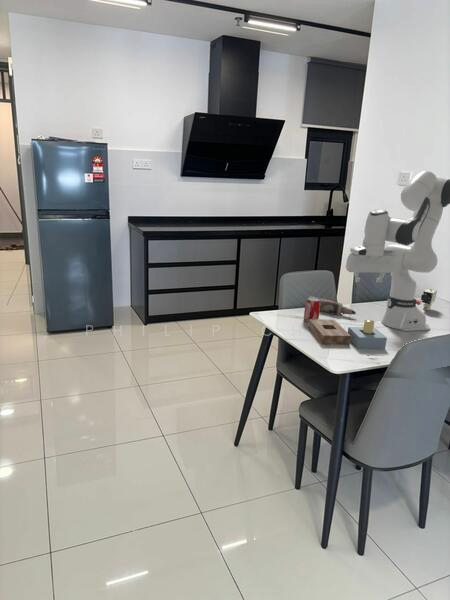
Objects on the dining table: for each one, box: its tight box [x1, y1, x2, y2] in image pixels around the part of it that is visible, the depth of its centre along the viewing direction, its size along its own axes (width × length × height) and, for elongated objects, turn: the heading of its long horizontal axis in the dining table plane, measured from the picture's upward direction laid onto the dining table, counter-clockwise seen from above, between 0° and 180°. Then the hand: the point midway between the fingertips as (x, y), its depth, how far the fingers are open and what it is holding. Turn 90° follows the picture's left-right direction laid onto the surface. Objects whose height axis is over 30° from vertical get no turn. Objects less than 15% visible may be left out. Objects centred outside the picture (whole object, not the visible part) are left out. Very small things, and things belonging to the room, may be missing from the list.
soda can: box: [303, 296, 321, 324], centre depth 211 cm, size 7×7×12 cm
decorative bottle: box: [309, 295, 357, 316], centre depth 228 cm, size 26×8×7 cm, turn 55°
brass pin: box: [362, 319, 375, 335], centre depth 187 cm, size 4×4×10 cm
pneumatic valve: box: [420, 288, 438, 311], centre depth 244 cm, size 6×12×12 cm, turn 141°
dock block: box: [347, 326, 388, 350], centre depth 188 cm, size 12×12×6 cm
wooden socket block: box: [307, 318, 351, 346], centre depth 194 cm, size 12×20×5 cm, turn 6°
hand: (367, 282), depth 186 cm, fingers open, 8 cm apart
